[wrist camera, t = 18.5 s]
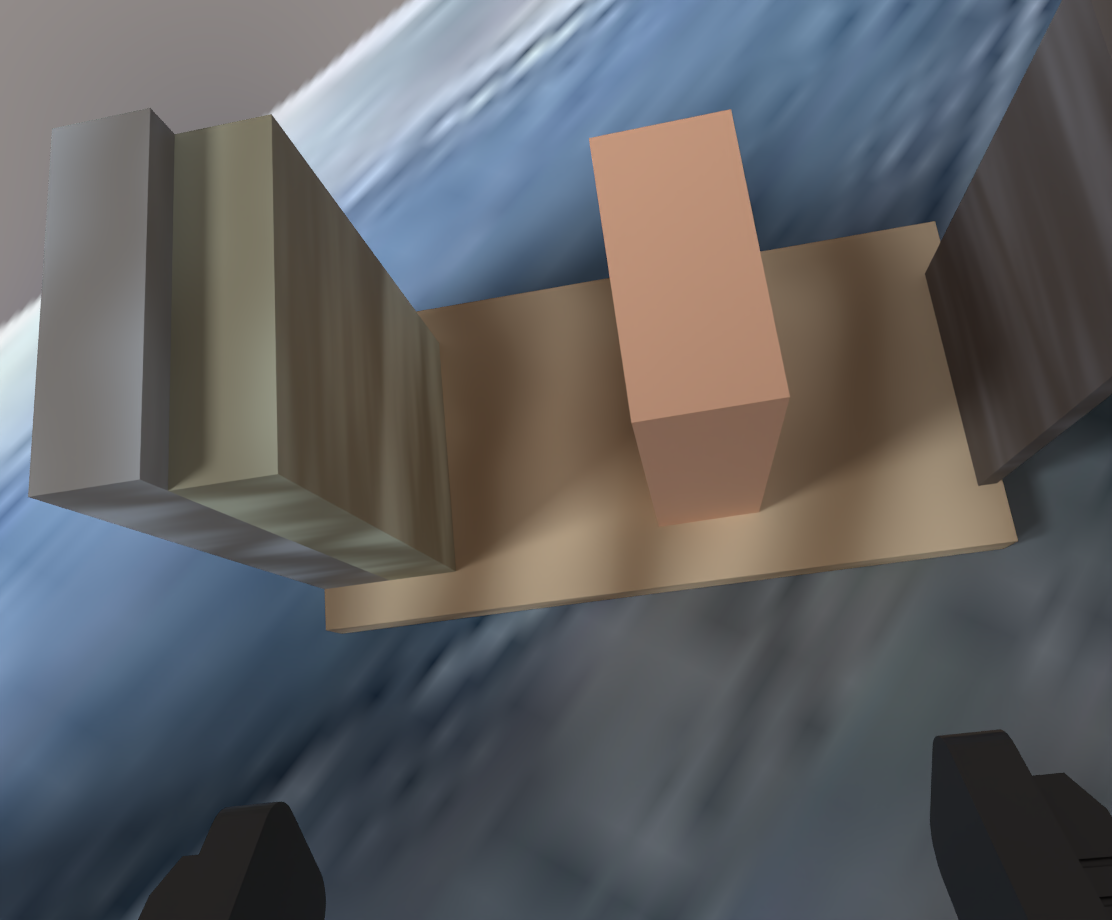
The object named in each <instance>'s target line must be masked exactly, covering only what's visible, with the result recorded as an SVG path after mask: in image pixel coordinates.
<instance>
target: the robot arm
mask: <svg viewBox="0 0 1112 920" xmlns="http://www.w3.org/2000/svg"><path fill="white" fill-rule="evenodd" d="M930 828H931V836H932V842H933V847H934V851H935V855H936V859H937V863H938V866H939V869H940V872H941V875H942V878H943V881H944V883H945V886H946V888H947V891H948V893H949V896H950V898H951V901H952V904H953V906H954V909H955V911H956V914H957V916H958V919H959V920H1112V816H1111V815H1110V813H1109V812H1108V810H1107V809H1106V808H1105V807H1104V806H1103V805H1101V804H1100V803H1099V802H1098V801H1097V800H1096V799H1094V798H1093V797H1092V796H1091V795H1090V794H1088V793H1087V792H1086V791H1085V790H1084V789H1083V788H1081V787H1080V786H1079V785H1078V784H1077V783H1075V782H1074V781H1073V780H1072V779H1071V778H1070V777H1068V776H1067V775H1066V774H1065V773H1056V774H1046V775H1036V776H1032V775H1031V773H1030V771H1029V769H1028V768H1027V766H1026V764H1025V762H1024V760H1023V759H1022V757H1021V755H1020V753H1019V751H1018V750H1017V748H1016V746H1015V744H1014V743H1013V741H1012V739H1011V738H1010V737H1009V735H1008V734H1007V733H1006V732H1005V731H1003V730H990V731H981V732H971V733H961V734H952V735H942V736H936V737H935V739H934V741H933V752H932V779H931V806H930ZM325 908H326V897H325V887H324V881H323V878H322V875H321V872H320V870H319V868H318V866H317V864H316V862H315V860H314V857H313V855H312V853H311V851H310V849H309V847H308V845H307V843H306V840H305V838H304V836H303V834H302V832H301V830H300V828H299V826H298V823H297V821H296V819H295V817H294V815H293V813H292V811H291V809H290V807H289V806H288V805H287V804H286V803H284V802H272V803H262V804H253V805H243V806H234V807H226V808H224V809H222V810H221V811H220V812H219V813H218V815H217V816H216V817H215V819H214V821H213V823H212V826H211V828H210V830H209V832H208V835H207V837H206V839H205V842H204V844H203V846H202V849H201V851H200V853H199V855H191V856H182V857H181V859H180V860H179V861H178V862H177V863H176V865H175V866H174V867H173V868H172V869H171V871H170V872H169V873H168V874H167V875H166V876H165V878H164V879H163V880H162V881H161V882H160V884H159V885H158V886H157V887H156V888H155V890H154V891H153V892H152V893H151V894H150V895H149V898H148V900H147V902H146V904H145V906H144V908H143V910H142V913H141V915H140V917H139V919H138V920H324V919H325Z"/></svg>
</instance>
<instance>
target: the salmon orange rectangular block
mask: <svg viewBox="0 0 1112 920" xmlns="http://www.w3.org/2000/svg"><path fill="white" fill-rule="evenodd" d="M589 142H590V148H591V155H592V162H593V168H594V175H595V182H596V188H597V195H598V202H599V209H600V215H601V222H602V229H603V235H604V242H605V249H606V256H607V262H608V269H609V276H610V282H611V289H612V296H613V302H614V309H615V316H616V323H617V329H618V336H619V343H620V349H621V356H622V363H623V370H624V376H625V383H626V390H627V396H628V403H629V410H630V416H631V423H632V427H633V431H634V434H635V438H636V442H637V446H638V450H639V453H640V457H641V461H642V465H643V469H644V472H645V476H646V480H647V484H648V488H649V491H650V495H651V499H652V503H653V507H654V510H655V514H656V518H657V522H658V526H659V527H662V526H669V525H676V524H682V523H689V522H696V521H703V520H709V519H716V518H723V517H730V516H736V515H743V514H750V513H757V512H759V511H760V507H761V503H762V499H763V496H764V492H765V488H766V485H767V481H768V477H769V473H770V470H771V466H772V462H773V458H774V455H775V451H776V447H777V443H778V440H779V436H780V432H781V429H782V425H783V421H784V417H785V414H786V410H787V406H788V402H789V399H790V395H789V390H788V385H787V380H786V375H785V370H784V365H783V360H782V356H781V351H780V346H779V341H778V336H777V331H776V326H775V322H774V317H773V312H772V307H771V302H770V297H769V292H768V287H767V283H766V278H765V273H764V268H763V263H762V258H761V253H760V248H759V244H758V239H757V234H756V229H755V224H754V219H753V214H752V209H751V205H750V200H749V195H748V190H747V185H746V180H745V175H744V170H743V166H742V161H741V156H740V151H739V146H738V141H737V136H736V132H735V127H734V122H733V117H732V112H731V109H730V110H725V111H720V112H716V113H711V114H706V115H701V116H696V117H691V118H686V119H681V120H676V121H671V122H666V123H662V124H657V125H652V126H647V127H642V128H637V129H632V130H627V131H622V132H617V133H612V134H608V135H603V136H598V137H593V138H589Z"/></svg>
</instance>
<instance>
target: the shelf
mask: <svg viewBox="0 0 1112 920" xmlns="http://www.w3.org/2000/svg"><path fill="white" fill-rule="evenodd" d="M760 253H761V258H762V263H763V268H764V273H765V278H766V283H767V287H768V292H769V297H770V302H771V307H772V312H773V317H774V322H775V326H776V331H777V336H778V341H779V346H780V351H781V356H782V360H783V365H784V370H785V375H786V380H787V385H788V390H789V395H790V399H789V402H788V406H787V410H786V414H785V417H784V421H783V425H782V429H781V432H780V436H779V440H778V443H777V447H776V451H775V455H774V458H773V462H772V466H771V470H770V473H769V477H768V481H767V485H766V488H765V492H764V496H763V499H762V503H761V507H760V511H759V512H757V513H750V514H743V515H736V516H730V517H723V518H716V519H709V520H703V521H696V522H689V523H682V524H676V525H669V526H662V527H659V526H658V522H657V518H656V514H655V510H654V507H653V503H652V499H651V495H650V491H649V488H648V484H647V480H646V476H645V472H644V469H643V465H642V461H641V457H640V453H639V450H638V446H637V442H636V438H635V434H634V431H633V427H632V423H631V416H630V410H629V403H628V396H627V390H626V383H625V376H624V370H623V363H622V356H621V349H620V343H619V336H618V329H617V323H616V316H615V309H614V302H613V296H612V289H611V282H610V278H607V279H601V280H595V281H589V282H584V283H578V284H572V285H566V286H561V287H555V288H549V289H544V290H538V291H532V292H526V293H521V294H515V295H509V296H503V297H498V298H492V299H486V300H480V301H475V302H469V303H463V304H458V305H452V306H446V307H440V308H435V309H429V310H423V311H417V312H416V311H415V309H414V308H413V307H412V305H411V304H410V303H409V301H408V300H407V299H406V297H405V296H404V294H403V293H402V292H401V290H400V289H399V288H398V286H397V285H396V284H395V282H394V281H393V279H392V278H391V277H390V275H389V274H388V273H387V271H386V270H385V269H384V267H383V266H382V264H381V263H380V262H379V260H378V259H377V258H376V256H375V255H374V254H373V252H372V251H371V249H370V248H369V247H368V245H367V244H366V243H365V241H364V240H363V238H362V237H361V236H360V234H359V233H358V232H357V230H356V229H355V228H354V226H353V225H352V223H351V222H350V221H349V219H348V218H347V217H346V215H345V214H344V213H343V211H342V210H341V208H340V207H339V206H338V204H337V203H336V202H335V200H334V199H333V198H332V196H331V195H330V193H329V192H328V191H327V189H326V188H325V187H324V185H323V184H322V183H321V181H320V180H319V178H318V177H317V176H316V174H315V173H314V172H313V170H312V169H311V168H310V166H309V165H308V163H307V162H306V161H305V159H304V158H303V157H302V155H301V154H300V152H299V151H298V150H297V148H296V147H295V146H294V144H293V143H292V142H291V140H290V139H289V137H288V136H287V135H286V133H285V132H284V131H283V129H282V128H281V127H280V125H279V124H278V122H277V121H276V120H275V118H274V117H273V116H272V114H271V115H266V116H261V117H256V118H251V119H247V120H242V121H237V122H232V123H228V124H223V125H218V126H213V127H208V128H203V129H199V130H194V131H189V132H184V133H180V134H174V133H173V132H172V131H171V130H170V129H169V128H168V127H167V126H166V125H165V123H164V122H163V121H162V120H161V119H160V118H159V117H158V116H157V115H156V114H155V113H154V112H153V110H152V109H151V108H148V109H143V110H139V111H134V112H129V113H125V114H120V115H115V116H110V117H106V118H101V119H96V120H91V121H87V122H82V123H78V124H73V125H68V126H63V127H59V128H54V129H52V141H51V158H50V172H49V188H48V202H47V217H46V234H45V248H44V265H43V280H42V294H41V309H40V324H39V340H38V355H37V370H36V385H35V401H34V416H33V431H32V446H31V462H30V477H29V492H28V497H30V498H33V499H37V500H40V501H43V502H46V503H49V504H53V505H56V506H59V507H62V508H65V509H69V510H72V511H75V512H78V513H82V514H85V515H88V516H91V517H94V518H98V519H101V520H104V521H107V522H110V523H114V524H117V525H120V526H123V527H126V528H130V529H133V530H136V531H139V532H143V533H146V534H149V535H152V536H155V537H159V538H162V539H165V540H168V541H171V542H175V543H178V544H181V545H184V546H187V547H191V548H194V549H197V550H200V551H204V552H207V553H210V554H213V555H216V556H220V557H223V558H226V559H229V560H232V561H236V562H239V563H242V564H245V565H248V566H252V567H255V568H258V569H261V570H265V571H268V572H271V573H274V574H277V575H281V576H284V577H287V578H290V579H293V580H297V581H300V582H303V583H306V584H309V585H313V586H316V587H319V588H322V589H325V616H326V630H327V631H332V632H337V633H342V634H343V633H351V632H359V631H366V630H374V629H382V628H390V627H398V626H405V625H413V624H421V623H429V622H436V621H444V620H452V619H460V618H468V617H475V616H483V615H491V614H499V613H507V612H514V611H522V610H530V609H538V608H545V607H553V606H561V605H569V604H577V603H584V602H592V601H600V600H608V599H616V598H623V597H631V596H639V595H647V594H654V593H662V592H670V591H678V590H686V589H693V588H701V587H709V586H717V585H725V584H732V583H740V582H748V581H756V580H763V579H771V578H779V577H787V576H795V575H802V574H810V573H818V572H826V571H834V570H841V569H849V568H857V567H865V566H872V565H880V564H888V563H896V562H904V561H911V560H919V559H927V558H935V557H943V556H950V555H958V554H966V553H974V552H981V551H989V550H997V549H1004V548H1006V547H1008V546H1009V545H1011V544H1013V543H1015V542H1017V541H1018V538H1017V535H1016V531H1015V527H1014V523H1013V519H1012V515H1011V512H1010V508H1009V504H1008V500H1007V496H1006V492H1005V488H1004V485H1003V481H1002V479H1003V478H1004V477H1006V476H1007V475H1008V474H1009V473H1011V472H1012V471H1013V470H1015V469H1016V468H1017V467H1018V466H1020V465H1021V464H1022V463H1024V462H1025V461H1026V460H1028V459H1029V458H1030V457H1031V456H1033V455H1034V454H1035V453H1037V452H1038V451H1039V450H1040V449H1042V448H1043V447H1044V446H1046V445H1047V444H1048V443H1049V442H1051V441H1052V440H1053V439H1055V438H1056V437H1057V436H1059V435H1060V434H1061V433H1062V432H1064V431H1065V430H1066V429H1068V428H1069V427H1070V426H1071V425H1073V424H1074V423H1075V422H1077V421H1078V420H1079V419H1080V418H1082V417H1083V416H1084V415H1086V414H1087V413H1088V412H1089V411H1091V410H1092V409H1093V408H1095V407H1096V406H1097V405H1099V404H1100V403H1101V402H1102V401H1104V400H1105V399H1106V398H1108V397H1109V396H1110V395H1111V394H1112V0H1062V1H1061V3H1060V5H1059V7H1058V9H1057V11H1056V13H1055V15H1054V17H1053V19H1052V21H1051V23H1050V25H1049V27H1048V29H1047V31H1046V33H1045V35H1044V37H1043V39H1042V41H1041V43H1040V45H1039V47H1038V49H1037V51H1036V53H1035V55H1034V57H1033V59H1032V61H1031V63H1030V65H1029V67H1028V69H1027V71H1026V73H1025V75H1024V77H1023V79H1022V81H1021V83H1020V85H1019V87H1018V89H1017V91H1016V93H1015V95H1014V97H1013V99H1012V101H1011V103H1010V105H1009V107H1008V109H1007V111H1006V113H1005V115H1004V117H1003V119H1002V121H1001V123H1000V125H999V127H998V129H997V131H996V133H995V135H994V137H993V139H992V141H991V143H990V145H989V147H988V149H987V151H986V153H985V155H984V157H983V159H982V161H981V163H980V165H979V167H978V169H977V171H976V173H975V175H974V177H973V179H972V181H971V183H970V185H969V187H968V189H967V191H966V193H965V195H964V197H963V199H962V201H961V203H960V205H959V206H958V208H957V210H956V212H955V214H954V216H953V218H952V220H951V222H950V224H949V226H948V228H947V230H946V232H945V234H944V236H943V238H942V240H941V242H940V238H939V234H938V231H937V227H936V223H935V221H933V222H928V223H922V224H916V225H911V226H905V227H899V228H893V229H888V230H882V231H876V232H870V233H865V234H859V235H853V236H847V237H842V238H836V239H830V240H825V241H819V242H813V243H807V244H802V245H796V246H790V247H784V248H779V249H773V250H767V251H761V252H760Z"/></svg>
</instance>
